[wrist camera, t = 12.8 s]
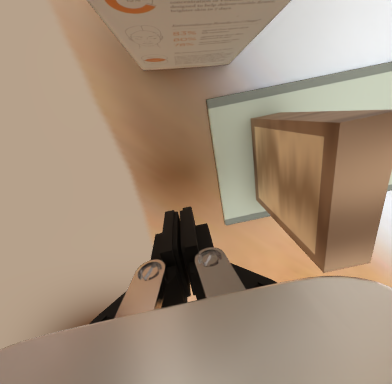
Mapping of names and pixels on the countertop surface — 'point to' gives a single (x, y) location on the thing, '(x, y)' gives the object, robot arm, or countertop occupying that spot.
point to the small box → (185, 29)
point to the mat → (275, 103)
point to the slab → (325, 179)
